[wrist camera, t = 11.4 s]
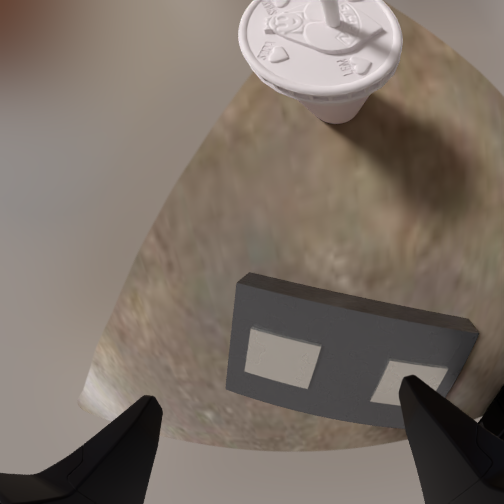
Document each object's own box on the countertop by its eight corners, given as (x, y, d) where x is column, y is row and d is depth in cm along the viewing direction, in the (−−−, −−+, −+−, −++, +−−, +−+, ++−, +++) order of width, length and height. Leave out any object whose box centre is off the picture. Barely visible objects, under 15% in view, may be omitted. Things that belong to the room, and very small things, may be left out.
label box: (468, 318, 16) (480, 335, 13) (419, 411, 18) (422, 432, 16) (249, 272, 21) (235, 284, 18) (236, 373, 23) (224, 391, 21)
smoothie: (379, 148, 16) (454, 52, 3) (286, 139, 18) (155, 52, 5) (378, 65, 14) (395, -88, 1) (289, 59, 16) (195, -76, 3)
